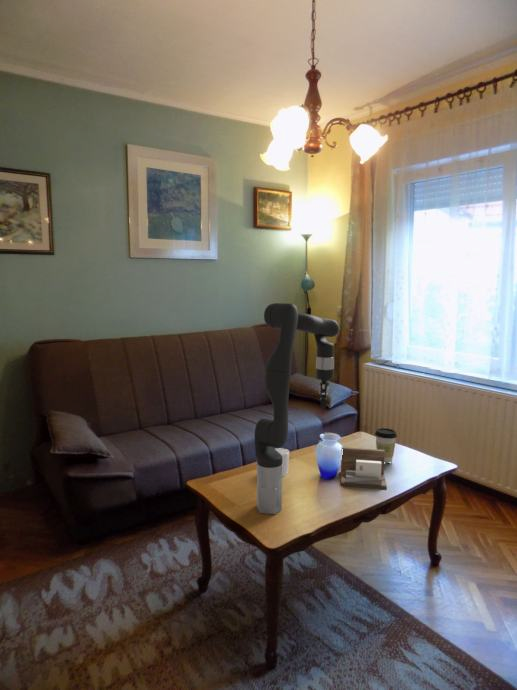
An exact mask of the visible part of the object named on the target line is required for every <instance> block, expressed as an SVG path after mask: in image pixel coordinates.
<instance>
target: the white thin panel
mask: <svg viewBox="0 0 517 690" xmlns="http://www.w3.org/2000/svg"><path fill="white" fill-rule="evenodd" d="M381 465H382V463H381V461H368V460H356V476H364V477H377V478H381Z"/></svg>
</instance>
